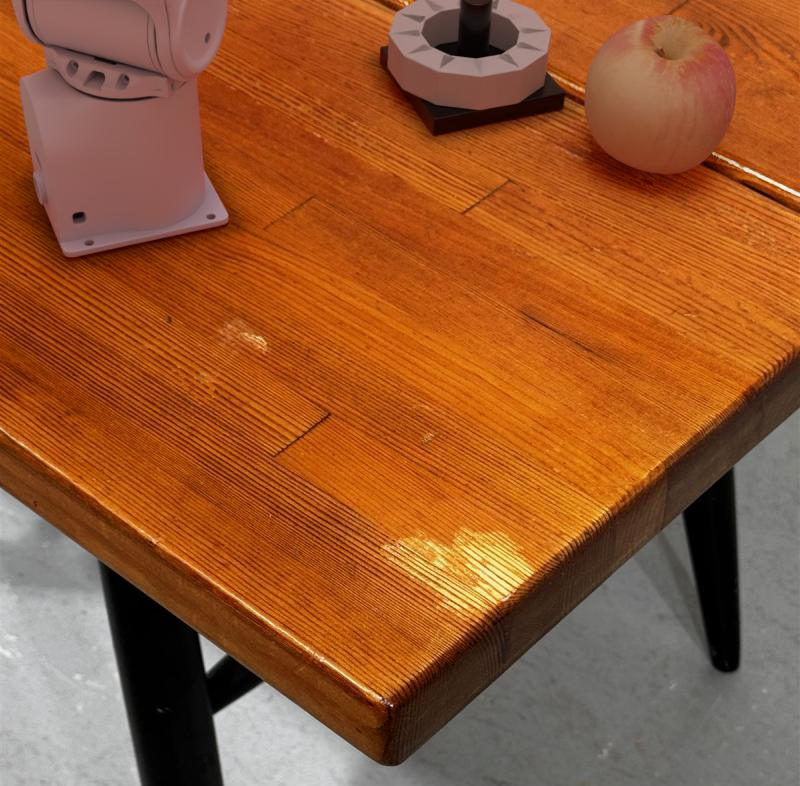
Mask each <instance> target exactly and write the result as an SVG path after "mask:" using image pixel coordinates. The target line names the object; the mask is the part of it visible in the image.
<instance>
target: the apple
mask: <svg viewBox="0 0 800 786" xmlns="http://www.w3.org/2000/svg"><path fill="white" fill-rule="evenodd" d="M584 85H585V86H584V97H583V99H584V115H585V119H586V123H587V126H588V129H589V131H590V133H591V134H592V138H593V139H594V141H595V142H596V143H597V144H598V146H599V147H600V148H601V149H602V150H603V151H604V152H605V153H606V154H608V155H609V156H610V157H612V158H614V159H615V160H616V161H619V162H620V163H622V164H624V165H626V166H628V167H630V168H633V169H636V170H638V171H642V172H644V173H651V174H657V175H675V174H680V173H681V174H682V173H684V172H687V171H690V170H692V169H694V168H696V167H697V166H699V165H701V164H702V163H703V162H704V161H706V160H707V159H708V158H709V157H710V156H711V155H712V154H713V153H714V152H715V151H716V149H717V148H718V146H719V145H720V144H721V143H722V141H723V140H724V138H725V136H726V134H727V133H728V130H729V127H730V125H731V122H732V119H733V116H734V113H735V109H736V102H737V101H736V100H737V78H736V73H735V69H734V65H733V63H732V61H731V59H730V57H729V55H728V54H727V51H725V48H723V47H722V45H720V43H719V42H718V41H717V40H716V39H715V38H714V37H712V36H711V35H710V34H709V33H708V32H707V31H705V30H704V29H703V28H702V27H700V26H699V25H697V24H695V23H694V22H693V21H691V20H688V19H686V18H683V17H681V16H678V15H677V16H676V15H669V14H663V15H658V16H657V15H656V16H652V17H647V18H644V19H640V20H637V21H634V22H632V23H630V24H627V25H625V26H623V27H622V28H620V29H618V30H617V31H616V32H614V33H613V34H612V35H610V36H609V37H608V38H607V39H606V40H605V41H604V42H603V43H602V45H601V46H600V47H599V48H598V49H597V51H596V53H595V55H594V56H593V58H592V60H591V63H590V65H589V69H588V72H587V75H586V80H585V84H584Z"/></svg>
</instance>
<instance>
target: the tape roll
mask: <svg viewBox="0 0 800 786" xmlns="http://www.w3.org/2000/svg"><path fill="white" fill-rule="evenodd" d="M459 12H460V0H415V1H414V2H411V3H410V4H408V5H407V6H404V7H403V8H402V9H399V10H397V11H395V14H394V17H393V19H392V23H391V26H390V29H389V32H388V41H387V42H388V43H387V46H388V69H389V70H390V72H391V73H392V75H393V76H394V77H395V79H396V80H397V82H398V83H399V85H400V86H401V88H402V89H403V90H405V91H407V92H410V93H412V94H414V95H416V96H418V97H420V98H422V99H424V100H426V101H428V102H431V103H433V104H435V105H439V106H448V107H456V108H464V109H472V110H483V109H489V108H495V107H500V106H506V105H511V104H517V103H519V102H521V101H522V100H524V99H525V98H527V97H528V96H530V95H531V94H532V93H534V92H535V91H537V90H538V89H540V88H541V87H543V85H544V81H545V76H546V71H547V70H548V66H549V65H548V64H549V55H550V47H551V40H552V30H551V29H550V27H549V26H548V25H547V24H546V22H545V21H544V20H543V19H542V18H541V16H539V14H538V13H537V11H535V10H534V9H533V8H530V7H528V6H525V5H522V4H520V3H518V2H515V1H513V0H493V5H492V16H491V28H490V40H489V45H492V46H494V47H496V48H498V49H501V50H503V51H505V52H504V53H503V54H501V55H495V56H489V57H483V58H478V59H475V58H466V57H458V56H450V55H448V54H446V53H444V52H442V51H439V50H437V49H435V48H434V47H436V46H437V45H439V44H444V43H450V42H456V41H458V27H459Z"/></svg>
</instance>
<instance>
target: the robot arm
mask: <svg viewBox="0 0 800 786" xmlns="http://www.w3.org/2000/svg"><path fill="white" fill-rule="evenodd" d="M11 3H12V8H13V11H14V15H15V18H16V22H17V25H18V27H19V29H20V30H21V32H22V34H23V35H24V36H25V38H26V39H28V40H29V41H31V43H34V44H37V45H40V46H43V53H44V60H45V66H47V67H45V68H42V69H40V70H38V71H35V72H32V73H30V74H27V75H24V76H21V77H20V78H19V84H18V85H19V95H20V101H21V108H22V113H23V118H24V119H23V120H24V124H25V130H26V135H27V140H28V147H29V152H30V157H31V164H32V169H33V173H32V179H33V184H34V188H35V192H36V197H37V198H38V201H39V203H40V205H43V208H44V209H45V213H46V215H47V217H48V220H49V222H50V224H51V227H52V230H53V233H54V235H55V237H56V239H57V242H58V244H59V247H60V249H61V252H62V254H63V255H64V256H65V257H68V258H77V257H82V256H86V255H90V254H95V253H96V254H97V253H100V252H105V251H109V250H114V249H119V248H123V247H128V246H133V245H138V244H143V243H147V242H151V241H156V240H161V239H165V238H169V237H175V236H180V235H183V234H184V235H185V234H188V233H193V232H197V231H202V230H208V229H212V228H215V227H220V226H224V225H227V223H229V220H230V219H229V213H228V211H227V209H226V207H225V205H224V203H223V202H222V200H221V197H219V195H218V193H217V191H216V189H215V187H214V185H213V183H212V181H211V180H210V178H209V176H208V174H207V172H206V171H205V166H204V154H203V152H204V151H203V140H202V127H201V116H200V115H201V114H200V102H199V88H198V77H199V76H200V75H201V74H202V73H203V72H204V71H205V70H206V69H207V68H208V67H209V66H210V65H211V63H212V62H213V61H214V59H215V57H216V56H217V54H218V51H219V49H220V46H221V44H222V41H223V37H224V34H225V29H226V25H227V17H228V0H11Z"/></svg>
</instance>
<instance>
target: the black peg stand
mask: <svg viewBox="0 0 800 786" xmlns="http://www.w3.org/2000/svg"><path fill="white" fill-rule="evenodd" d="M492 5H493V0H460V12H459V27H458V41H456V42H450V43H444V44H439V45H437V46H436V47H434V48H435V49H437V50H439V51H442V52H444V53H446V54H448V55H450V56H458V57H466V58H475V59H478V58H483V57H489V56H495V55H501V54H503V53H504V52H505V51H503V50H501V49H498V48H496V47H494V46H492V45H489V40H490V28H491V16H492ZM379 64H380V65H381V67H382V68H383V69H384V71H385V72H386V73H387V75H388V76H389V77H390V78H391V80H392V82H393V83H394V84H395V85H396V87H397V89H399V91H400V92H401V93H402V95H403V96H404V98H405V99H406V100H407V101H408V103H409V104H410V106H411V107H412V108H413V110H414V111H415V113H417V115H418V117H420V119H421V121H422V122H423V123H424V124H425V125H426V127H427V128H428V130H429V131H430V132H431V134H432V135H433V136H438V135H444V134H448V133H452V132H457V131H462V130H467V129H472V128H477V127H481V126H487V125H491V124H496V123H501V122H505V121H511V120H515V119H521V118H525V117H530V116H535V115H539V114H544V113H549V112H553V111H554V112H555V111H558V110H563V109H564V108H565V107H564V106H565V99H566V92H565V90H564V89H563V88H562V87H561V86H560V85H559V83H557V81H556V80H555V79H554V78H553V77H552V76H551V75H550V73H549V72H548V71H547V70H546V76H545V81H544V85H543V87H541V88H540V89H538V90H537V91H535V92H534V93H532V94H531V95H530V96H528V97H527V98H525V99H524V100H522V101H521V102H519V103H517V104H511V105H506V106H500V107H495V108H489V109H483V110H472V109H464V108H456V107H448V106H439V105H435V104H433V103H431V102H428V101H426V100H424V99H422V98H420V97H418V96H416V95H414V94H412V93H410V92H407V91H405V90H403V89H402V88H401V86H400V85H399V83H398V82H397V80H396V79H395V77H394V76H393V75H392V73H391V72H390V70H389V69H388V45H383V46H380V47H379Z"/></svg>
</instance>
